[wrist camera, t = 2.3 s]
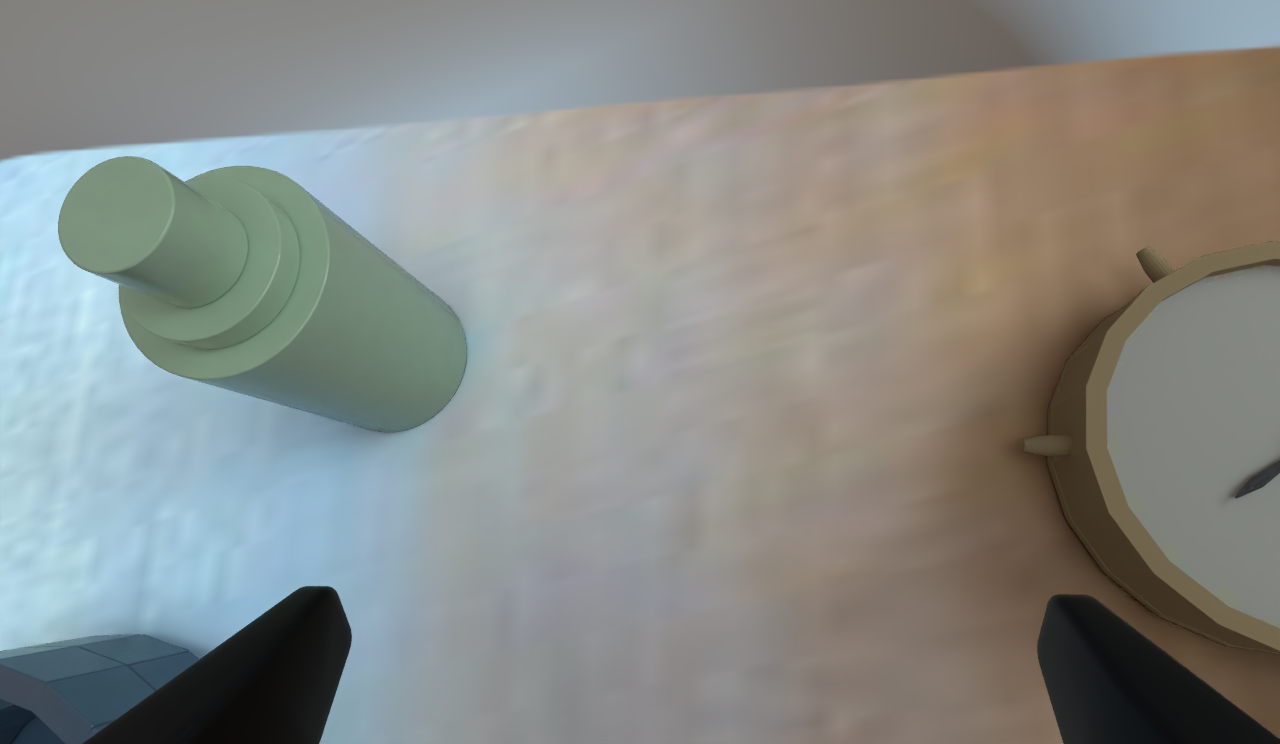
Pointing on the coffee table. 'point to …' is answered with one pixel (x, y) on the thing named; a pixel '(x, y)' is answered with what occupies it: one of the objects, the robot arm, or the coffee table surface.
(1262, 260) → the alarm clock
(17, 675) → the pot
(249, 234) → the capped bottle
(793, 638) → the coffee table surface
